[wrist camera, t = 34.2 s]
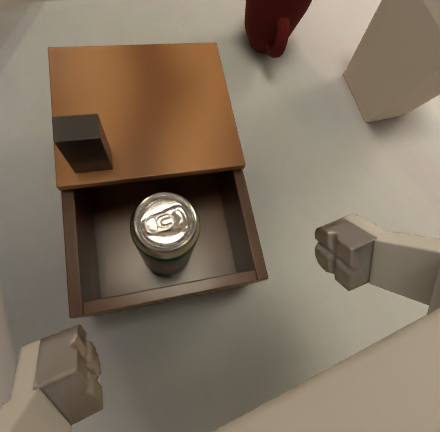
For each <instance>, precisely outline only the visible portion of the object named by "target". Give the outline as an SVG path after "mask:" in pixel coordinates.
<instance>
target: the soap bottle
mask: <svg viewBox="0 0 440 432" xmlns="http://www.w3.org/2000/svg"><path fill="white" fill-rule="evenodd" d="M343 75H344V77H345V79H346V81H347V83H348V86H349V88H350V90H351V92H352V94H353V96H354V98H355V101H356V103H357V105H358V107H359V109H360V111H361V113H362V115H363V118H364V120H365V122H366V123H367V122H372V121H377V120H382V119H388V118H393V117H398V116H403V115H405V114H407V113H409V112H410V111H412V110H414V109H415V108H417V107H419V106H421V105H422V104H424V103H426V102H427V101H429V100H431V99H433V98H434V97H436V96H438V95H439V94H440V0H382V1H381V3H380V5H379V7H378V9H377V11H376V12H375V14H374V16H373V18H372V20H371V22H370V24H369V26H368V28H367V30H366V32H365V34H364V36H363V38H362V40H361V41H360V43H359V45H358V47H357V49H356V51H355V53H354V55H353V57H352V59H351V61H350V63H349V65H348V67H347V69H346V71H345V72H344V74H343Z"/></svg>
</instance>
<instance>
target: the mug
mask: <svg viewBox="0 0 440 432" xmlns="http://www.w3.org/2000/svg"><path fill="white" fill-rule="evenodd" d="M311 1H312V0H246V8H245V29H246V34H247V37H248V40H249V43H250V45H251V47H252V48H253V49H254V50H256V51H258V52H261V53H268V54H269V56H271V57H274V58H277V57H280V56H281V55H282V54H283V52H284V50H285V48H286V45H287V41H288V37H289V36H290V34H291V33H292V31H293V30H294V29H295V27H296V26H297V24H298V23H299V21H300V20H301V18H302V17H303V15H304V14H305V12H306V11H307V9H308V7H309V5H310V3H311Z"/></svg>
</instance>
